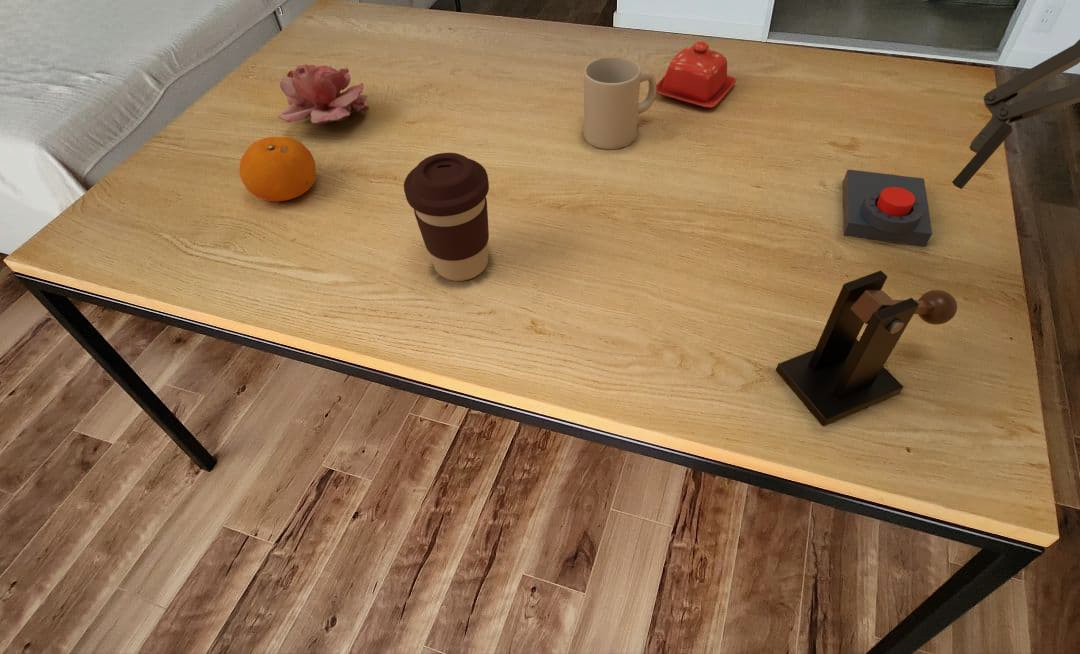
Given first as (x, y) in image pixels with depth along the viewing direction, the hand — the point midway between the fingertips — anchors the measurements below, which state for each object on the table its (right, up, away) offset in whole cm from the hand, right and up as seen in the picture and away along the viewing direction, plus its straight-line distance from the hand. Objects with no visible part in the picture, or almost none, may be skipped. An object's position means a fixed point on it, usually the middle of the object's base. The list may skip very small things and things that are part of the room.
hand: (1022, 224), depth 61 cm
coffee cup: (-56, -1, +25) cm, 61 cm away
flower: (-82, +26, +50) cm, 99 cm away
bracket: (-13, -16, +9) cm, 23 cm away
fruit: (-84, +11, +37) cm, 93 cm away
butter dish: (-19, +31, +50) cm, 62 cm away
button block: (+1, +6, +27) cm, 28 cm away
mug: (-33, +22, +43) cm, 58 cm away
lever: (-10, -9, +4) cm, 14 cm away
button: (0, +6, +22) cm, 23 cm away
